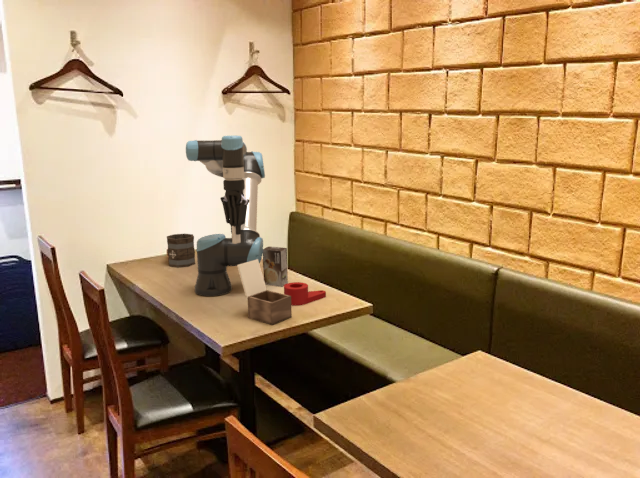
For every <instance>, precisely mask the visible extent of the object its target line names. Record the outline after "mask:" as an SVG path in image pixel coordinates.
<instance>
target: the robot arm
mask: <svg viewBox="0 0 640 478" xmlns="http://www.w3.org/2000/svg"><path fill="white" fill-rule="evenodd" d="M185 156H186V158H187V160H188V162H189V161H191V162H200V163H202V164H203V165H204V166H205V168H206V170H207V171H208V172H209V173H211V174H212V175H214V176H217V177H220V178H223V182H222V183H223V190H224V192H225V193H224V196H221V197H220V201H221V203H222V207H223V213H224V217H225V222H226V224H229V225H230V232H231V237H226V235H225V234H224V233H215V234H209V235H204V236H202V237H200V238H198V240H197V241H196V250H195V252H196V259H197V261H196V263H197V276H196V277H197V278H196V281H195V285H194V293H195V294H197V295H199V296H204V297H215V296H221V295H226V294H229V293H231V292H232V291H233V290H232V289H233V286H232V282H231V280H230V277H229V274H228V271H227V270H228V269H227V268H228V267H237V265H239V264H242V263H246V262H249V261H253V260H256V259H258V261H259V264H260V263H261V261H262V259H263V249H264V238H263V237H261V236H260V233H259V232H258V231H257V223H258V221H257V220H258V219H257V217H258V193H259V192H258V189H259V187H258V186H259V185H260V184H261V183H262V179H265V178H266V174H265V166H264V158H263V157H264V156H263V154H262V152H260V151H248V147H247V145H246V143H245V142H244V139H243V136H242V135H223V136H222V137H221V140H220V139H219V140H218V139H217V140H197V139H194V140H188V141H187V142H186V144H185Z"/></svg>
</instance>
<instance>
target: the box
mask: <svg viewBox="0 0 640 478" xmlns="http://www.w3.org/2000/svg"><path fill="white" fill-rule="evenodd" d="M247 312H248V313H247V315H248V319H250V320H253V321H254V320H255V321H258V322H261V323H264V324H268V325H271V326H274V325H276V324H279V323H281V322H284V321H285V320H287V319H291V318H292V317H293V314H292V313H293V312H292V305H291V296H289V295H285V294H284V293H280V292H276V291H273V290H269V289H267V290H265V291H263V292H260V293H257V294H254V295H251V296H248V297H247Z"/></svg>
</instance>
